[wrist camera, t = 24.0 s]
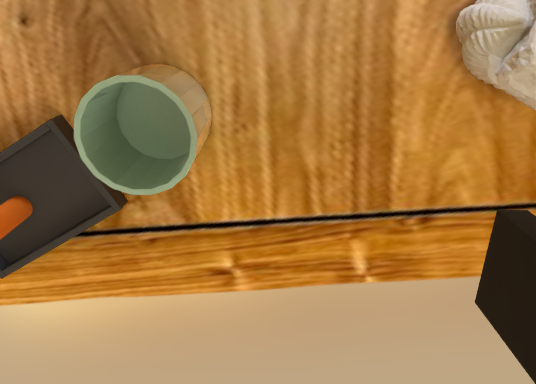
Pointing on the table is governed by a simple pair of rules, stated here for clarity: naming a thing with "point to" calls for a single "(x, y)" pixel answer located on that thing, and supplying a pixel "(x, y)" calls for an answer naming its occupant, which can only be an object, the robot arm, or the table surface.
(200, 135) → the pen cup
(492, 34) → the fossil replica
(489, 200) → the table surface
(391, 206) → the table surface
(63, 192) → the pen tray
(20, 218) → the marker
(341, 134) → the table surface
